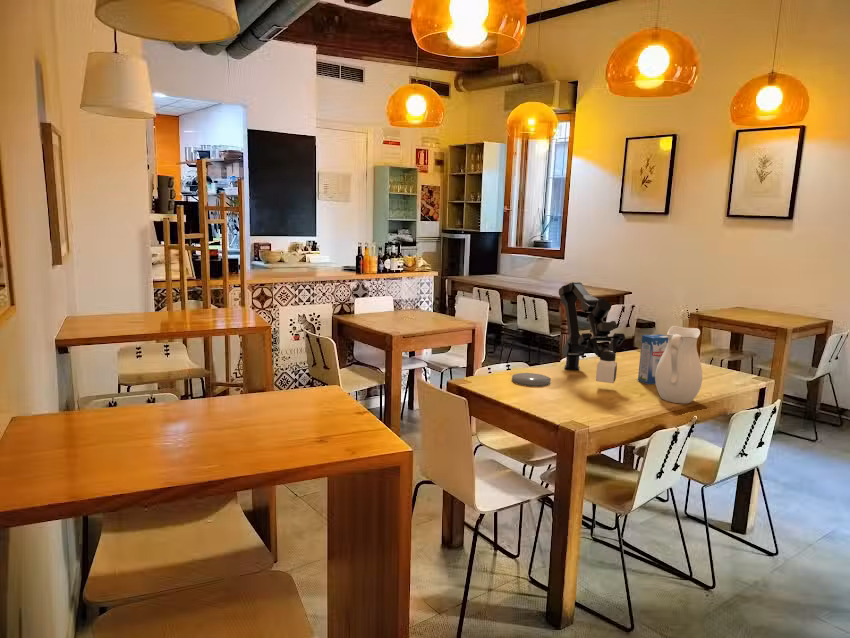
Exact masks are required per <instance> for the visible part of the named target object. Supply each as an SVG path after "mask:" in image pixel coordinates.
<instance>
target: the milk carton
mask: <svg viewBox="0 0 850 638" xmlns="http://www.w3.org/2000/svg"><path fill="white" fill-rule="evenodd" d="M640 343H641V345H640V354H639V363H638V365H639V366H638V375H637V376H638V377H637V381H638V380H639V381H638V382H640V381H641V383H643V382H644V384H645V383H646V385H656V383H655V373H656V368H657V365H658V363H659V360H660V358H661V356H662V355H663V353H664V351H665V349H666V347H667V344H668V336H667V335H664V334H645V335H644V334H643V335H641V342H640Z"/></svg>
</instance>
